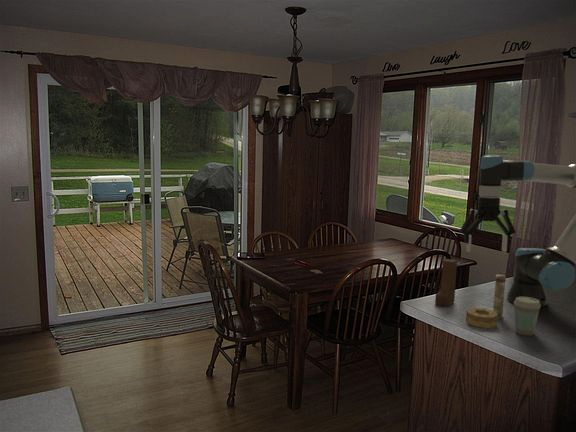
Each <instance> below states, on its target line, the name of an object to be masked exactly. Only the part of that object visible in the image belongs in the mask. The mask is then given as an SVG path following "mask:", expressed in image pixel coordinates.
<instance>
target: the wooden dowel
mask: <svg viewBox="0 0 576 432" xmlns="http://www.w3.org/2000/svg"><path fill="white" fill-rule="evenodd" d="M506 279H507V277H506V275H504V274H496V275H495V280H494V282H495V284H494V295H493V296H494V297H493V308H492V311H495V312H496V313H497V315H498V318H503V312H504V301H505V300H504V299H505V290H506V289H505V287H506V282H507V281H506Z"/></svg>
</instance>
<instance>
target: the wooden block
mask: <svg viewBox="0 0 576 432" xmlns="http://www.w3.org/2000/svg"><path fill="white" fill-rule="evenodd" d="M441 267H442V269H441V282H440V289H439V290H438V292H437V293H435V301H434V304H435V305H436V306H440V307H443V308H445V307H448V306H450V305H451V304H454V303H455V297H456V284H457V283H456V281H457V269H458V268H457V267H458V261H457V259H456V260H455V259H450V258H447V259H444V260H442V265H441Z"/></svg>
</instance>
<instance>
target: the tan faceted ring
mask: <svg viewBox="0 0 576 432" xmlns="http://www.w3.org/2000/svg"><path fill="white" fill-rule="evenodd" d="M472 307H473V306H472ZM465 315H466V316H465V320H466V322H467V323H468V325H470V326H471V325H472V326H473V327H474V326H475V327H477V328H487V329H491V328H495V327H497V325H498V319H499V317H498V315H497V313H496V312H495V311H493V309H489V308H484V307H473V308H470V307H469V308H467V309H466V314H465ZM494 326H495V327H494Z"/></svg>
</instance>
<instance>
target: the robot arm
mask: <svg viewBox="0 0 576 432" xmlns="http://www.w3.org/2000/svg"><path fill="white" fill-rule="evenodd" d="M506 181H507V182H517V181H518V182H520V181H521V182H523V181H524V182H534V183H543V184H544V183H545V184H546V183H547V184H555V185H564V186H566V187H567V188H573V189H576V163H575V164H574V163H573V164H569V165H561V164H549V163H537V162H532V161H530V160H523V159H522V160H508V159H507V160H506V159H503V156H502V155H483V156H481V159H480V166H479V186H478V188H479V189H478V196H479V197H478V201H477V203H478V206H477V209H472V208H470V209H469V211H468V215H467V217H466V218H465V221H464V223H463V224H462V226H461V227H460V229H459V233H461V234H463V235H464V239H463V240H464V243H465V245H466V248H465V250H466V251H465V252H467V253H471V252H472V251H471V250H472V235H471V233H473V232H474V230H475V229H476V228H477V227H478V226H479V225H480V224H481V223H483V222H495V223H496V224H497V226H498V227H499V228H500V229H501V231H503V234H502V236H501V239H502V241H501V242H502V243H501V251H502V253H507V250H508V249H507V248H508V244H510V241H511V240H510V237H511V236H512V235H513V234H516V230H515V227H514V226H513V222H512V221H511V219H510V216H509V210H508V209H506V208H502V209H500V206H501V198H500V197H501V191H502V189H501V187H502V182H506ZM476 215H478V216H477V217H476V218H475V220H474V221H473V219H474V217H475V216H476ZM500 215H501V216H502V218H503V220H504V222H505V224H506V226H507V227H506V226H505V224H504V223H503V222H502V220H501V219H500V218H499V216H500ZM472 221H473V222H472ZM513 266H514V269H513V279H512V283H511V286H510V287H509V290H508V291H507V295H506V296H507V297H506V299H507V301H508V302H510V303H512V304H514V301H515V299H516V298H517V297H531V298H534V299H537V300H539V302H540V305H541V308H542V307H546V306H547V304H548V298H547V294H546V291H545V288H546V289H550V290H552V291H560V290H565V289H567V288H569V287H570V286H571V285H572V284H573V282H574V281H575V278H576V270H575V267H576V213H575V214H574V216H573V217H572V218H571V220H570V222H569V223H568V225H566V228H565V229H564V230H563V232H562V233H561V235H560V236H559V238H558V239H557V241H555V243H554V245H553V246H552V247H547V248H546V249H545V248H537V247H536V248H535V247H518V248H517V249H516V251H515V255H514V265H513Z"/></svg>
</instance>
